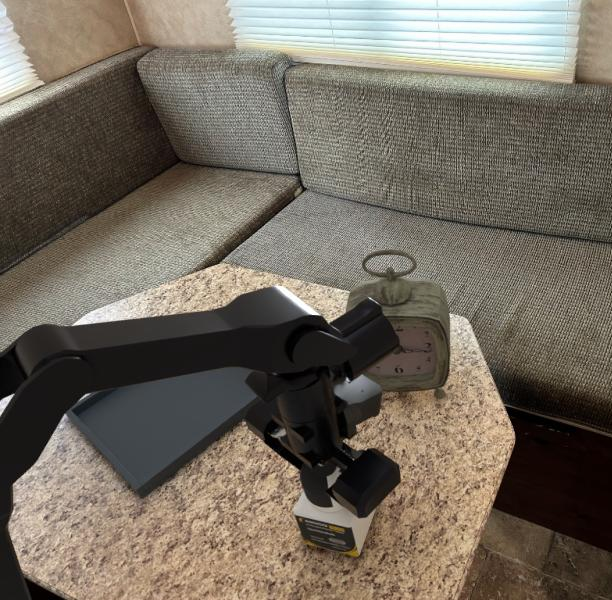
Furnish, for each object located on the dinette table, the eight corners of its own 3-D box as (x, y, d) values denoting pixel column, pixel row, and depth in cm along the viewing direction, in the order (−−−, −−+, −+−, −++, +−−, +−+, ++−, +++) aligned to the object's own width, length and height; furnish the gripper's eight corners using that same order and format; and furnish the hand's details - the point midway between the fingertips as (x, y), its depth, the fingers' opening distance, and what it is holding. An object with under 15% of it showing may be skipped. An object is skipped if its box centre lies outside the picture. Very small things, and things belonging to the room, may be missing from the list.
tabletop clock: (353, 408, 89) (325, 272, 73) (360, 363, 96) (335, 230, 80) (453, 407, 87) (445, 268, 71) (452, 362, 94) (445, 226, 78)
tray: (141, 499, 80) (136, 490, 79) (69, 419, 92) (63, 410, 91) (289, 383, 94) (286, 373, 92) (209, 327, 106) (206, 318, 104)
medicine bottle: (303, 544, 73) (282, 488, 65) (325, 493, 78) (308, 435, 70) (359, 558, 71) (344, 501, 63) (378, 505, 76) (366, 446, 69)
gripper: (431, 394, 59) (438, 485, 69) (305, 319, 69) (327, 408, 79) (350, 471, 53) (371, 559, 63) (225, 376, 63) (260, 465, 73)
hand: (331, 489), depth 70 cm, fingers closed on medicine bottle, 6 cm apart
